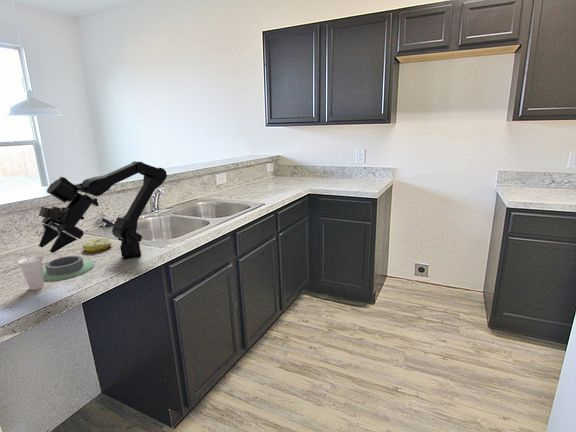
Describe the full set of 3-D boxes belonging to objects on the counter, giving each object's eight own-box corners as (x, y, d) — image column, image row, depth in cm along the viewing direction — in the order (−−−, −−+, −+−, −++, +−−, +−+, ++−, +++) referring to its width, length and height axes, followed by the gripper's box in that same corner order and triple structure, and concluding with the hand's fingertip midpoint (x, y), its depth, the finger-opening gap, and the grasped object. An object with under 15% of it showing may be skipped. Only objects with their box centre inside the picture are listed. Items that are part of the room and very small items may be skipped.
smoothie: (19, 291, 107) (8, 249, 104) (38, 282, 113) (28, 242, 110) (35, 292, 106) (25, 251, 102) (53, 283, 112) (44, 244, 108)
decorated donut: (117, 246, 147) (116, 237, 146) (96, 254, 137) (94, 245, 136) (100, 243, 151) (98, 235, 150) (78, 251, 141) (76, 243, 140)
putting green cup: (97, 257, 134) (95, 249, 133) (90, 275, 118) (88, 266, 117) (43, 265, 127) (41, 257, 126) (28, 285, 111) (26, 275, 110)
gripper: (42, 193, 115) (10, 232, 110) (65, 199, 105) (31, 243, 99) (72, 211, 123) (43, 248, 118) (96, 218, 113) (66, 259, 107)
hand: (45, 249), depth 110 cm, fingers open, 9 cm apart
